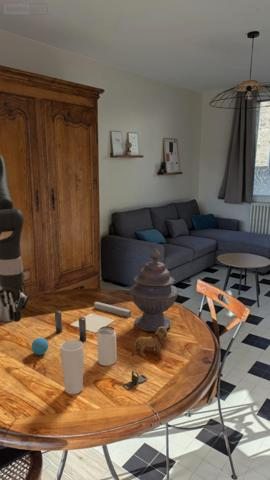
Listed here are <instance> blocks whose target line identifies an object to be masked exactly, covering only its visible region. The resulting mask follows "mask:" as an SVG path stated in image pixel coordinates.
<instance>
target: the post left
mask: <svg viewBox="0 0 270 480" xmlns="http://www.w3.org/2000/svg"><path fill="white" fill-rule="evenodd" d="M54 323H55V333H56V334H62V333H63V319H62V310H60V309H59V310H55V311H54Z"/></svg>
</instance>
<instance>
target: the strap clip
mask: <svg viewBox="0 0 270 480" xmlns="http://www.w3.org/2000/svg"><path fill="white" fill-rule="evenodd" d="M148 379H149V378H148V377H147V376H145V375H144V374H139V373H138V372H137V371H135V370H132V372H131V379H130V380H131V381H129V382H126V383H124V384H122V387H123V388H124V389H125V390H127V391H129V390H132V389H134V388H135V387H136V386H137V385H138V384H140V385H141V384H143V383H144V382H147V381H148ZM126 386H127V387H126Z"/></svg>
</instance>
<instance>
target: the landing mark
mask: <svg viewBox="0 0 270 480" xmlns="http://www.w3.org/2000/svg"><path fill="white" fill-rule="evenodd" d="M84 318H85V320H86V332H90V333H94V334H96V333H98V330H99V328H101V327H104V326H109V325H110V324H112V323H114V322H116V320H115V319H112V318H109V317H106V316H102V315H98V314H95V313H91V312H90V313H89V314H87V315H85V316H84ZM70 326H72V327H75V328H78V329H79V319H78V320H76V321H74V322H72V323H71V324H70Z"/></svg>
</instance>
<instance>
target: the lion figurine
mask: <svg viewBox="0 0 270 480" xmlns="http://www.w3.org/2000/svg"><path fill="white" fill-rule="evenodd" d="M167 330H168V329H166V328H165V327H162V326H161V327H159V328H157V331H156V332H154V334H153V335H152V336H140V337H137V339H136V340H135V342H134V344H133V348H132V349H133V350H132V353H131V355H130V357H133V356H134V355H136V354H137V353H138V351H136V350H137V349H138V348H139V349H140V351H139V352H140V355H141V356H142V357H144V358H145V357H147V354H145V353H144V350H145V346H146V347H148V348H149V347H151V348H152V347H153V350H154V351H157V353H158V354H160V355H161V354H162V351H161V347H162V346H161V345H162V344H163V345H164V343H165V341H166V340H167V337H168V331H167Z"/></svg>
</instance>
